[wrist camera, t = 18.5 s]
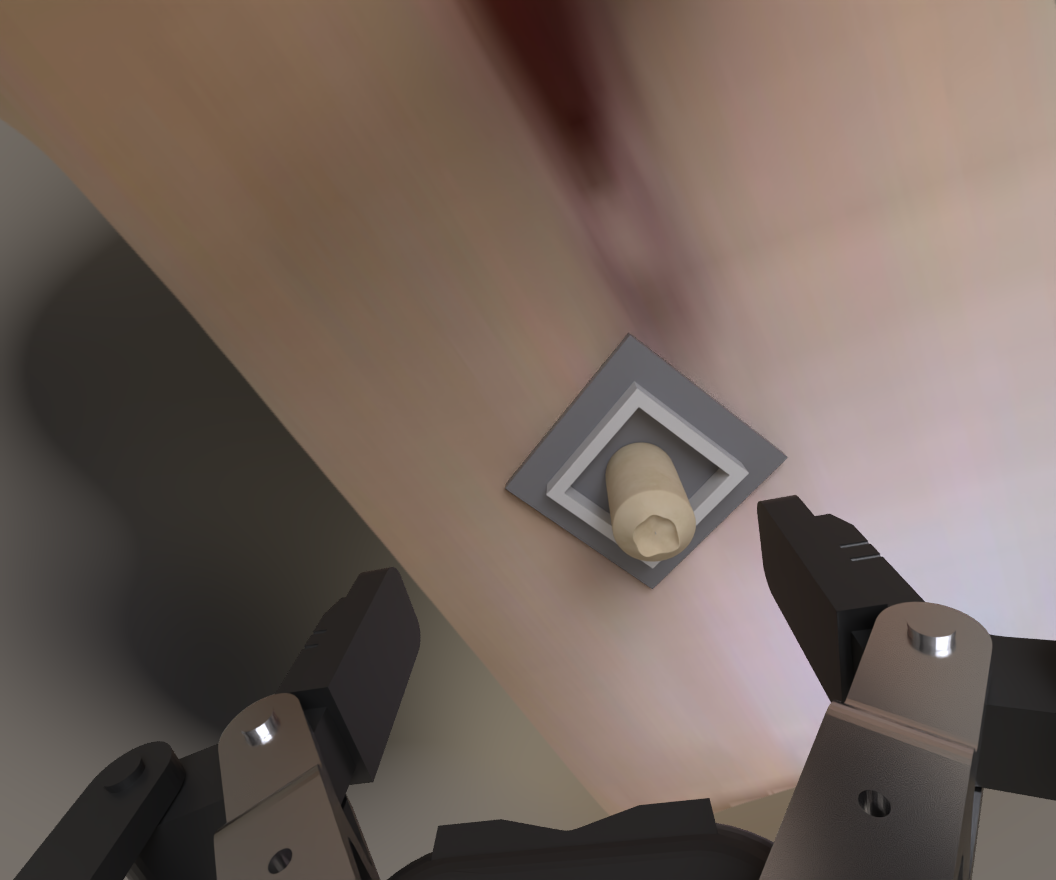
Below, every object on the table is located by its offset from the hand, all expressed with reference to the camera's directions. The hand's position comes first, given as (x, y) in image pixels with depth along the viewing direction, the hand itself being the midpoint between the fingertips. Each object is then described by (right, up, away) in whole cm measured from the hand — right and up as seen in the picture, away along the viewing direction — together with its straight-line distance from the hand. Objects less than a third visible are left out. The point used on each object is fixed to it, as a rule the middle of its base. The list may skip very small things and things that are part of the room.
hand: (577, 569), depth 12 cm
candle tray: (+8, +1, +34) cm, 35 cm away
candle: (+8, 0, +33) cm, 34 cm away
